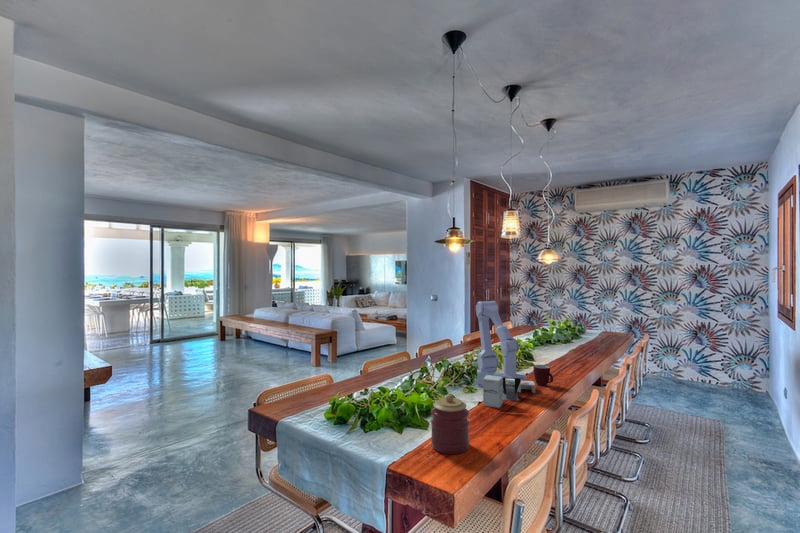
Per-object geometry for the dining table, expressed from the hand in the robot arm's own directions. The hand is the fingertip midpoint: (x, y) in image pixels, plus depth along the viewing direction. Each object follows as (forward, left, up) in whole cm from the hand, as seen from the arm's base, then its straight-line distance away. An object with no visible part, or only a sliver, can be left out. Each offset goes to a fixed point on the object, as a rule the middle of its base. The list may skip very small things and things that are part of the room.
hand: (510, 394), depth 181 cm
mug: (+18, +22, -2) cm, 28 cm away
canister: (-23, -55, -2) cm, 60 cm away
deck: (0, 0, -2) cm, 2 cm away
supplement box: (-8, -12, -2) cm, 15 cm away
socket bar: (+5, +11, -2) cm, 12 cm away
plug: (0, 0, -1) cm, 1 cm away
